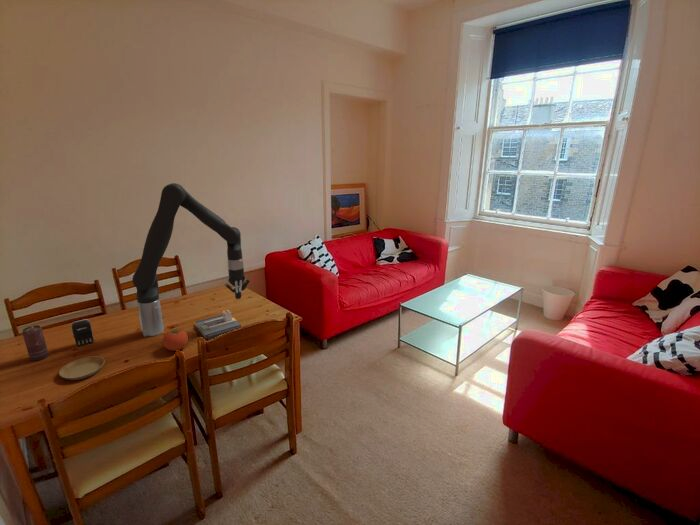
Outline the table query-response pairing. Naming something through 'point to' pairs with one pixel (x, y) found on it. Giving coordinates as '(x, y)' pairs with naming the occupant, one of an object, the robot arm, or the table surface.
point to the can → (35, 343)
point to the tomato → (175, 339)
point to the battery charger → (82, 332)
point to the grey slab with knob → (217, 332)
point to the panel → (215, 325)
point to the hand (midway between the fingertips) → (238, 298)
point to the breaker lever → (227, 316)
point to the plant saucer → (82, 368)
